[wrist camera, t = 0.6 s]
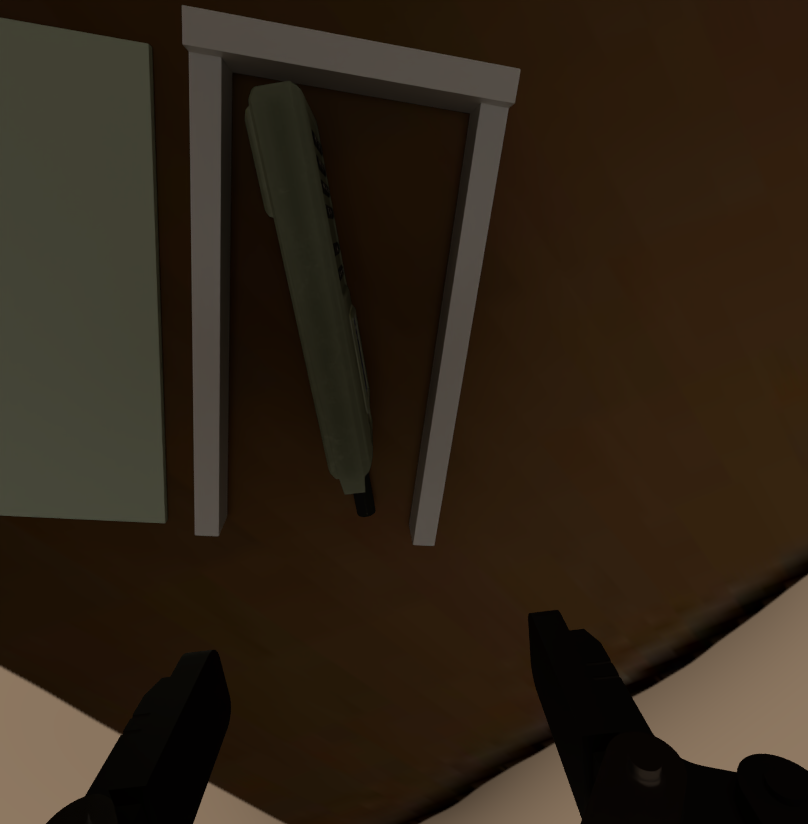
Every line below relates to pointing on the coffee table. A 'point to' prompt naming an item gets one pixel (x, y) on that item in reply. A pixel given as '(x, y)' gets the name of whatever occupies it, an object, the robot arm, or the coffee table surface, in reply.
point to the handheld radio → (315, 278)
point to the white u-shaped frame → (211, 214)
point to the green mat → (79, 279)
